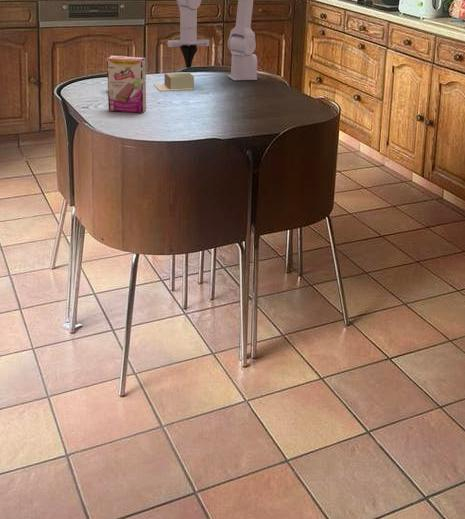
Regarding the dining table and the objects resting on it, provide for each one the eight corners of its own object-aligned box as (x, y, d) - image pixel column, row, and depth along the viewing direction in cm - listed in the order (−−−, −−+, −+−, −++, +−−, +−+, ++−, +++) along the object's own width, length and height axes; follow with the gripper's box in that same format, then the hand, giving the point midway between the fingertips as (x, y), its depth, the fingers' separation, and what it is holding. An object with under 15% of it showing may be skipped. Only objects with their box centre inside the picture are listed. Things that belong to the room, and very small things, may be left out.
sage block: (188, 72, 262) (164, 73, 259) (194, 76, 256) (168, 77, 253) (188, 83, 264) (164, 84, 261) (193, 88, 258) (169, 89, 255)
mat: (186, 83, 265) (186, 82, 265) (193, 90, 256) (193, 89, 256) (153, 84, 261) (153, 84, 261) (159, 91, 253) (159, 90, 253)
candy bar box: (108, 111, 227) (105, 58, 220) (112, 107, 232) (109, 55, 224) (143, 113, 226) (142, 60, 219) (146, 109, 231) (145, 57, 223)
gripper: (170, 29, 246) (170, 70, 252) (211, 28, 250) (211, 68, 256) (165, 26, 252) (166, 66, 258) (206, 25, 256) (205, 64, 262)
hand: (188, 67), depth 257 cm, fingers closed
